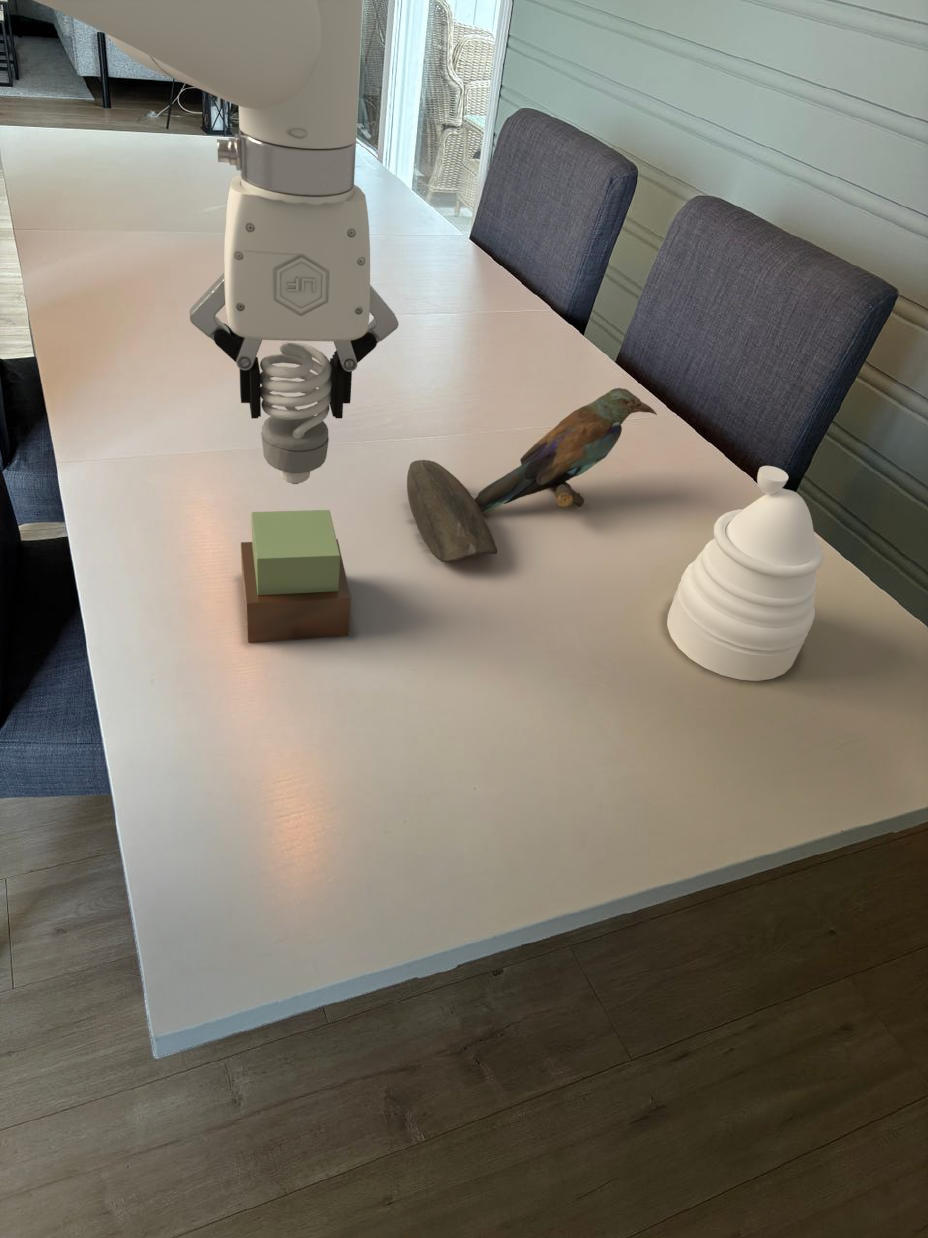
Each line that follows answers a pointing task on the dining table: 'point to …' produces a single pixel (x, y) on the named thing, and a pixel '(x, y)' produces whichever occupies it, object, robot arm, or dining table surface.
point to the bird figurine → (566, 452)
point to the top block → (295, 552)
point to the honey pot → (751, 587)
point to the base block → (293, 608)
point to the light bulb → (296, 411)
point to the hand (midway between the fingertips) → (295, 408)
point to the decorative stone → (446, 513)
